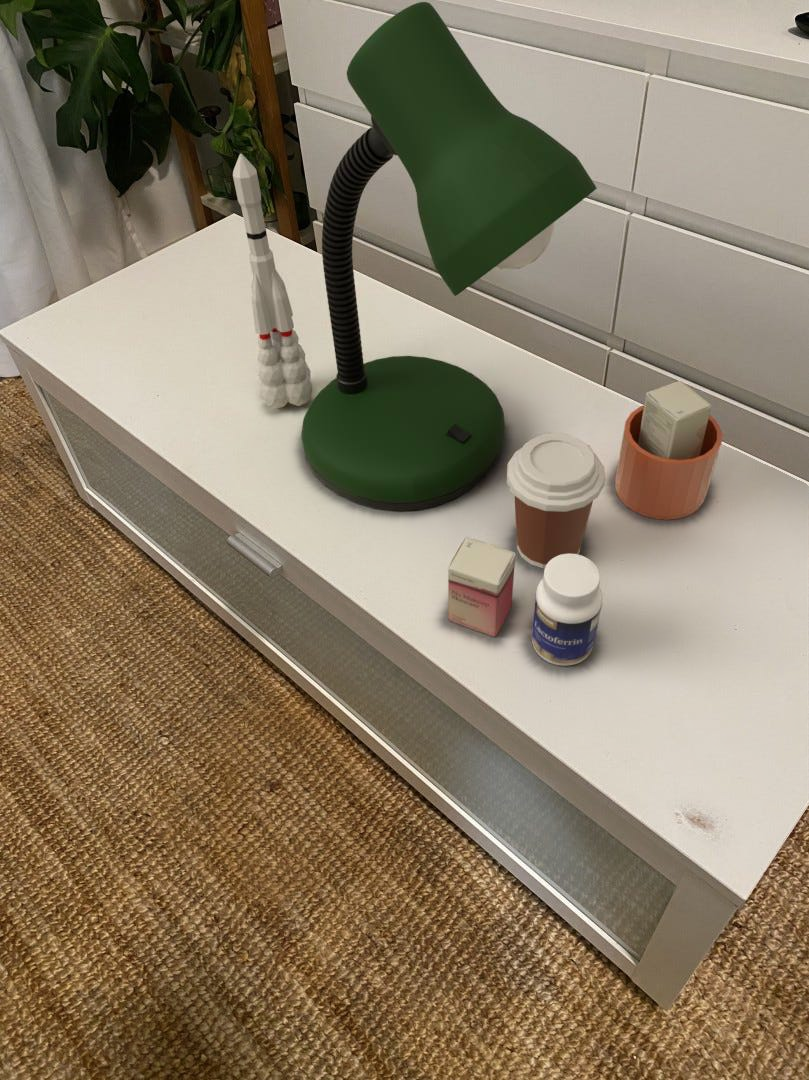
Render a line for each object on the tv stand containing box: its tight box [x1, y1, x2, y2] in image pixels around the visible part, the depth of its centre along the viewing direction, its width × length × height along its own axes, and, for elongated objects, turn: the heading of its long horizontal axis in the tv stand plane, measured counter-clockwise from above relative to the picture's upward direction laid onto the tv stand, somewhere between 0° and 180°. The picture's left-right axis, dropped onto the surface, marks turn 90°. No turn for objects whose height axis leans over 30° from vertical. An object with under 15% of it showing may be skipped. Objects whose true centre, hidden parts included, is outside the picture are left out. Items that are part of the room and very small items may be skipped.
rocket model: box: [232, 153, 313, 410], centre depth 94 cm, size 7×7×30 cm
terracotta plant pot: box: [614, 404, 723, 521], centre depth 89 cm, size 9×9×8 cm
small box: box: [447, 536, 517, 637], centre depth 79 cm, size 5×4×8 cm
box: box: [638, 380, 712, 460], centre depth 88 cm, size 5×4×11 cm
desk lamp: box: [300, 1, 598, 512], centre depth 81 cm, size 31×23×45 cm
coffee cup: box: [506, 433, 606, 569], centre depth 83 cm, size 9×9×12 cm
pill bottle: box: [531, 554, 603, 667], centre depth 76 cm, size 6×6×10 cm
